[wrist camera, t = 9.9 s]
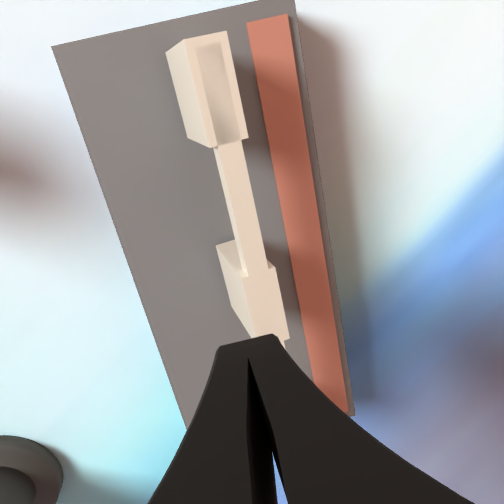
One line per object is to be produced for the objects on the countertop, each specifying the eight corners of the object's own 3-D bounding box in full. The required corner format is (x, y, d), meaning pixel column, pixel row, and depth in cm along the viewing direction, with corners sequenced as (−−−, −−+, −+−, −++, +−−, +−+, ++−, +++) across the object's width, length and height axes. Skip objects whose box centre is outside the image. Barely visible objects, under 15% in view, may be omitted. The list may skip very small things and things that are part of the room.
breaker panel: (337, 377, 21) (356, 418, 18) (196, 412, 21) (195, 458, 18) (278, 5, 15) (294, -9, 12) (74, 51, 14) (48, 46, 12)
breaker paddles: (285, 421, 18) (318, 477, 15) (263, 430, 18) (293, 490, 15) (199, 45, 12) (226, 30, 10) (165, 52, 12) (183, 39, 9)
